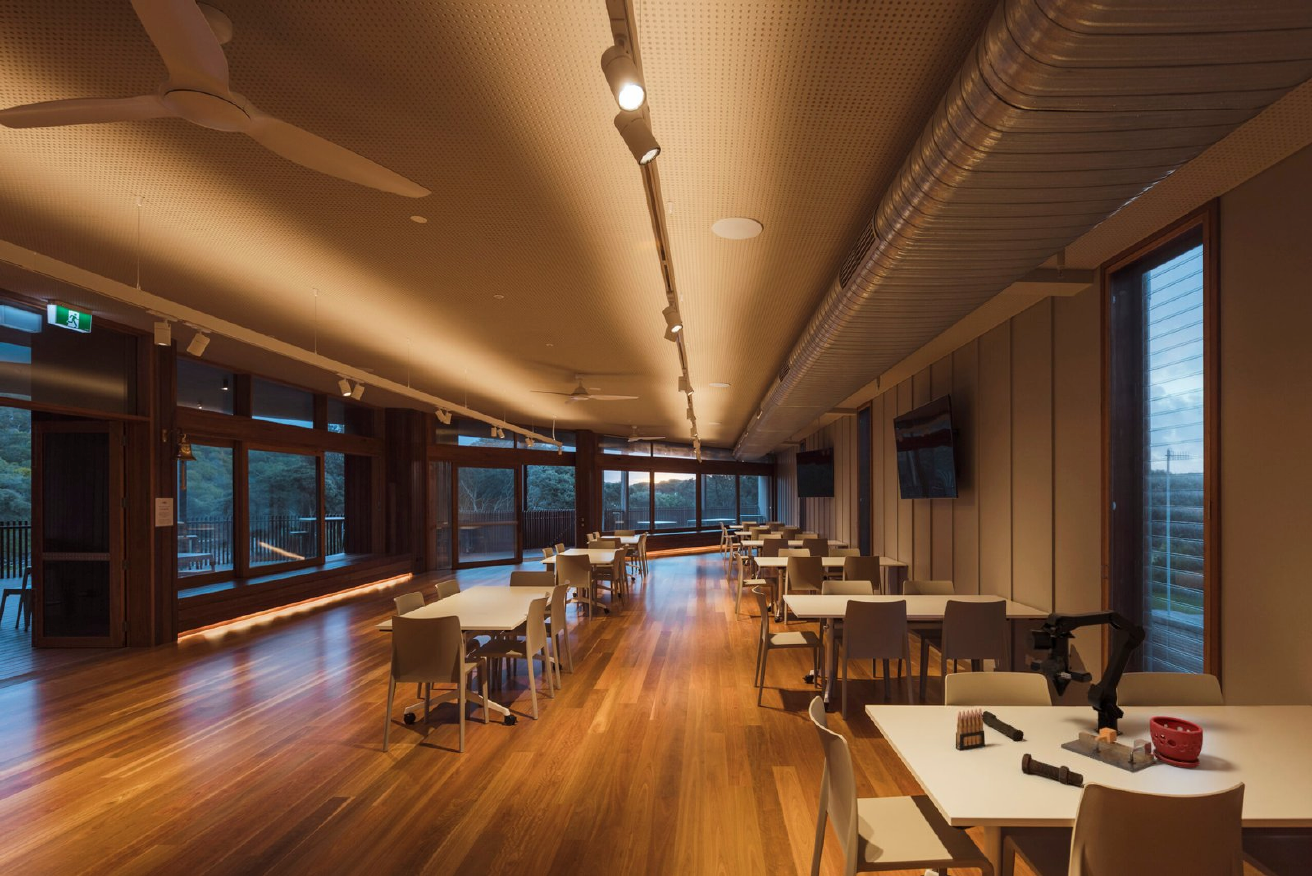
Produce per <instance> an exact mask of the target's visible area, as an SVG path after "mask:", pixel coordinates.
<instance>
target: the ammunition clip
mask: <svg viewBox="0 0 1312 876" xmlns="http://www.w3.org/2000/svg"><path fill="white" fill-rule="evenodd" d="M982 715H983V711H982V709H981V708H979V709H977V708H975V710H973V709H971V710H970V711H969V709H968V710H967V711H966V712H965V710H963V711H962V713H961V711H958V714H957V723H956V732H955V749H956V750H957V751H959V752H962V751H967V750H973V749H978V748H979V749H980V748H985V747H986V741H985V739H986V738H985V730H984V722H983V720H982Z"/></svg>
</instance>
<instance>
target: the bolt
mask: <svg viewBox="0 0 1312 876" xmlns="http://www.w3.org/2000/svg"><path fill="white" fill-rule="evenodd" d="M1021 771H1022V773H1023V774H1027V775H1029V774H1030V773H1031V772H1033V773H1037V774H1040V775H1043V776H1044V775H1045V776H1046V777H1050V778H1053V779H1057V780H1058V781H1059V783H1060V784H1062V785H1068V784H1069V783H1070V784H1073V785H1076V786H1082V785H1083V784H1084V775H1083V774H1081V773H1078V772H1074V771H1072V770H1070V768H1069V766H1066V765H1061V766H1060V767H1059V766H1056V765H1052V764H1049V763H1044V762H1041V761H1039V760H1036V759H1033V758H1032V754H1031V753H1024V754H1023V756H1022V758H1021Z"/></svg>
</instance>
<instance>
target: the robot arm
mask: <svg viewBox="0 0 1312 876" xmlns="http://www.w3.org/2000/svg"><path fill="white" fill-rule="evenodd" d="M1046 617H1047V618H1046V621H1044V623H1043V625H1042V626H1041V627H1040V628H1039V630H1035V629H1029V631H1028V632H1029V633H1027V635H1026V637H1025V644H1026V647H1027V648H1028V649H1029V650H1030V651H1050V652H1047V657H1046V658H1045V659H1044V660H1041V659H1036V660H1031V661H1030V663H1029V670H1032V671H1036V672H1039V671H1041V673H1042V674H1044V675H1045V676H1046V677H1048V678H1049V679H1050V681H1052V683H1053V686H1054V688H1055V690H1056V693H1057V696H1058V697H1063V695H1065V692H1066V690H1067V687H1068V686H1069V684H1070V683H1071V682H1072V681H1074V682H1078V683H1083V684H1084V683H1088V682H1092V681H1093V675H1092V674H1091V672H1090V671H1087V670H1086V671H1085V670H1082V669H1078V670H1077V669H1076V670H1072V667H1073V666H1071V665H1070V658H1072V653H1070V639H1073V640H1075V639H1076V636H1075V635H1073V633H1072V631H1075V630H1077V629H1078V628H1081V627H1089V626H1097V625H1105V624H1109V626H1110V627H1112V628H1113V629H1114V630H1115V634H1114V638H1115V646H1114V649H1113V651H1112V653H1111V656H1110V658H1109V660H1108V663H1107V665H1106V667H1105V670H1104V672H1103V674H1102V676H1101V680H1100V681H1099V682H1098V683H1093V682H1092V683H1090V686H1089V689H1088V691H1087V692H1086V694H1087V697H1086V698H1087V701H1088V703H1089V704H1090V706H1091V707H1092V708H1091V709H1092V710H1093V711H1095V712H1097V727H1096V728H1093V732H1098V733H1100V729H1103V728H1110V729H1113V730H1116V736H1120V735H1122V734H1123V731H1119V728H1118V727H1119V723H1118V722H1119V721H1118V720H1119V719H1123V718H1124V715H1125V712H1124V711H1123V710H1122V709H1121V708H1120V707H1119V706H1118V705H1117V703H1118V693H1117V692H1118V691H1117V689H1118V686H1119V683H1120V682H1121V679H1122V676H1123V674H1124V672H1125V670H1126V667H1127V665H1128V663H1129V660H1130V658H1131V655H1132V653H1133V652H1134V651H1135V650H1136V649H1137V648H1139V647H1140V646H1141V645H1142V644H1143V642H1144V640H1146V636H1147V633H1146V631H1145V629H1144V628H1143V627H1142V626H1141V625H1137V624H1135V623H1133V622H1132V621H1130V620H1129V619H1127V618H1125V617H1124V616H1122V615H1121V614H1120V613H1118V612H1117V611H1114V610H1110V609H1106V610H1100V611H1092V612H1084V613H1083V612H1082V613H1075V614H1071V613H1070V614H1069V613H1063V612H1061V613H1060V612H1050V613H1049V614H1048V616H1046Z"/></svg>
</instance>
